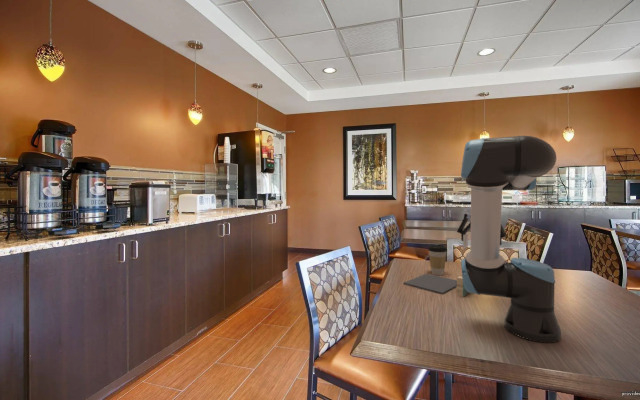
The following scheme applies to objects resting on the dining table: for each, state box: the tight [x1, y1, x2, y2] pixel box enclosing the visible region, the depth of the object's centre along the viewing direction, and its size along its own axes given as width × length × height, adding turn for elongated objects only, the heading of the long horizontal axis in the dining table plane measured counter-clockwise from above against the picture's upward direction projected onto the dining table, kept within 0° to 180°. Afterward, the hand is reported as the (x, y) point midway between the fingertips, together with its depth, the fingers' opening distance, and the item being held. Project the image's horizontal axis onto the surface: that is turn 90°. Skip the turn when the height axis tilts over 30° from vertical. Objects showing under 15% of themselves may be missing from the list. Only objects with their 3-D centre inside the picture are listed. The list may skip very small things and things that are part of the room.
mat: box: [403, 273, 457, 295], centre depth 148 cm, size 22×20×1 cm
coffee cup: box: [427, 244, 448, 276], centre depth 165 cm, size 10×10×15 cm
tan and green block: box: [456, 274, 470, 298], centre depth 134 cm, size 9×3×8 cm, turn 132°
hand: (480, 250), depth 135 cm, fingers open, 13 cm apart
